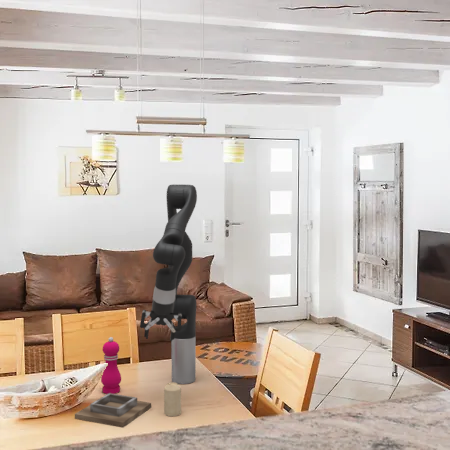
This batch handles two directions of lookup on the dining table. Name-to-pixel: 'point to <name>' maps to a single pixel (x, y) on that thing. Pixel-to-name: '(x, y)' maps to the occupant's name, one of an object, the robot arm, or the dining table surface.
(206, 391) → the dining table surface
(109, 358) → the pepper mill
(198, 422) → the dining table surface
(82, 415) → the board
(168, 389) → the candle
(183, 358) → the robot arm
